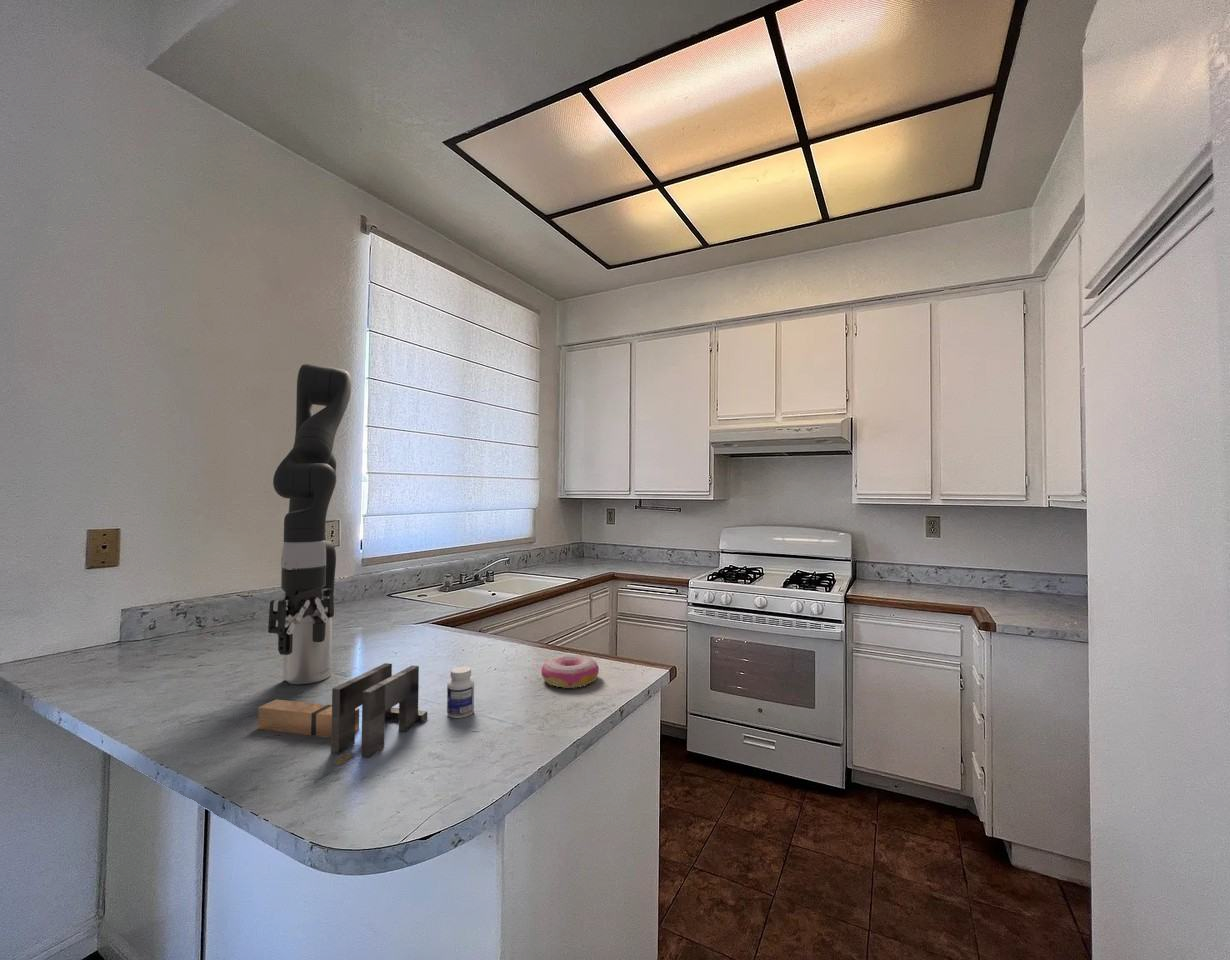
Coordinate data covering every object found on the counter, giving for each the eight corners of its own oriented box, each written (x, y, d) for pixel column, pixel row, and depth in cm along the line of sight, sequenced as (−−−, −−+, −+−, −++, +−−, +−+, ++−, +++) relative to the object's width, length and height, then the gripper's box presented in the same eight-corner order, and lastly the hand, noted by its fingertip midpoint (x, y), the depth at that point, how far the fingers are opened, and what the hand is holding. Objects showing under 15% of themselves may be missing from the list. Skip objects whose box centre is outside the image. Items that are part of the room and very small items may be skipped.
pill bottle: (450, 708, 109) (450, 665, 109) (476, 707, 109) (476, 664, 109) (444, 719, 103) (444, 674, 103) (471, 718, 104) (471, 673, 104)
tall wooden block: (257, 728, 99) (258, 707, 99) (276, 719, 103) (276, 699, 103) (343, 739, 95) (343, 716, 95) (359, 729, 99) (359, 707, 99)
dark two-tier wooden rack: (313, 761, 87) (314, 694, 87) (387, 714, 105) (388, 659, 106) (360, 768, 85) (361, 699, 85) (427, 719, 103) (428, 663, 104)
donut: (530, 686, 122) (530, 664, 122) (560, 669, 134) (560, 649, 134) (580, 695, 116) (580, 673, 116) (607, 676, 128) (607, 656, 128)
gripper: (313, 559, 110) (312, 637, 109) (257, 568, 96) (255, 657, 95) (345, 560, 109) (344, 638, 108) (293, 569, 95) (291, 659, 94)
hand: (302, 647), depth 102 cm, fingers open, 8 cm apart
